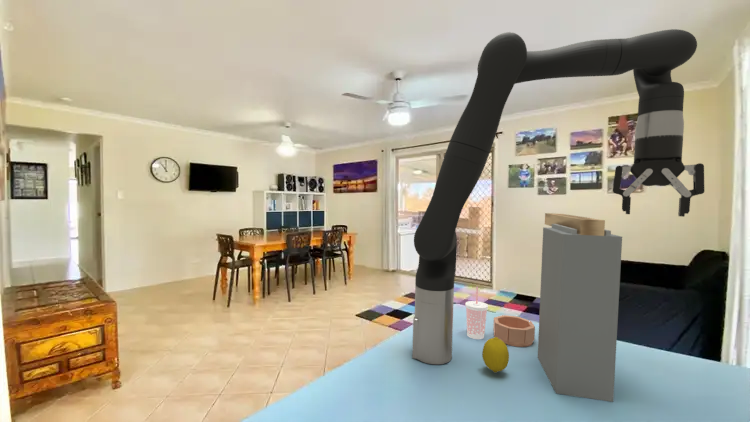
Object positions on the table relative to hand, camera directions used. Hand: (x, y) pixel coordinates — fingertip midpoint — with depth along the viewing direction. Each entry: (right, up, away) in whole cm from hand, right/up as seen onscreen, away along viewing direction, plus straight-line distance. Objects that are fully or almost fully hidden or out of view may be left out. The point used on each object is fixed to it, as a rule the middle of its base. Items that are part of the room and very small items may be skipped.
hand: (653, 215), depth 68 cm
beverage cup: (-30, -35, +24) cm, 51 cm away
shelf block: (-15, -36, +3) cm, 39 cm away
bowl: (-20, -35, +22) cm, 46 cm away
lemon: (-31, -35, +5) cm, 47 cm away
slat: (-13, -3, +7) cm, 16 cm away
